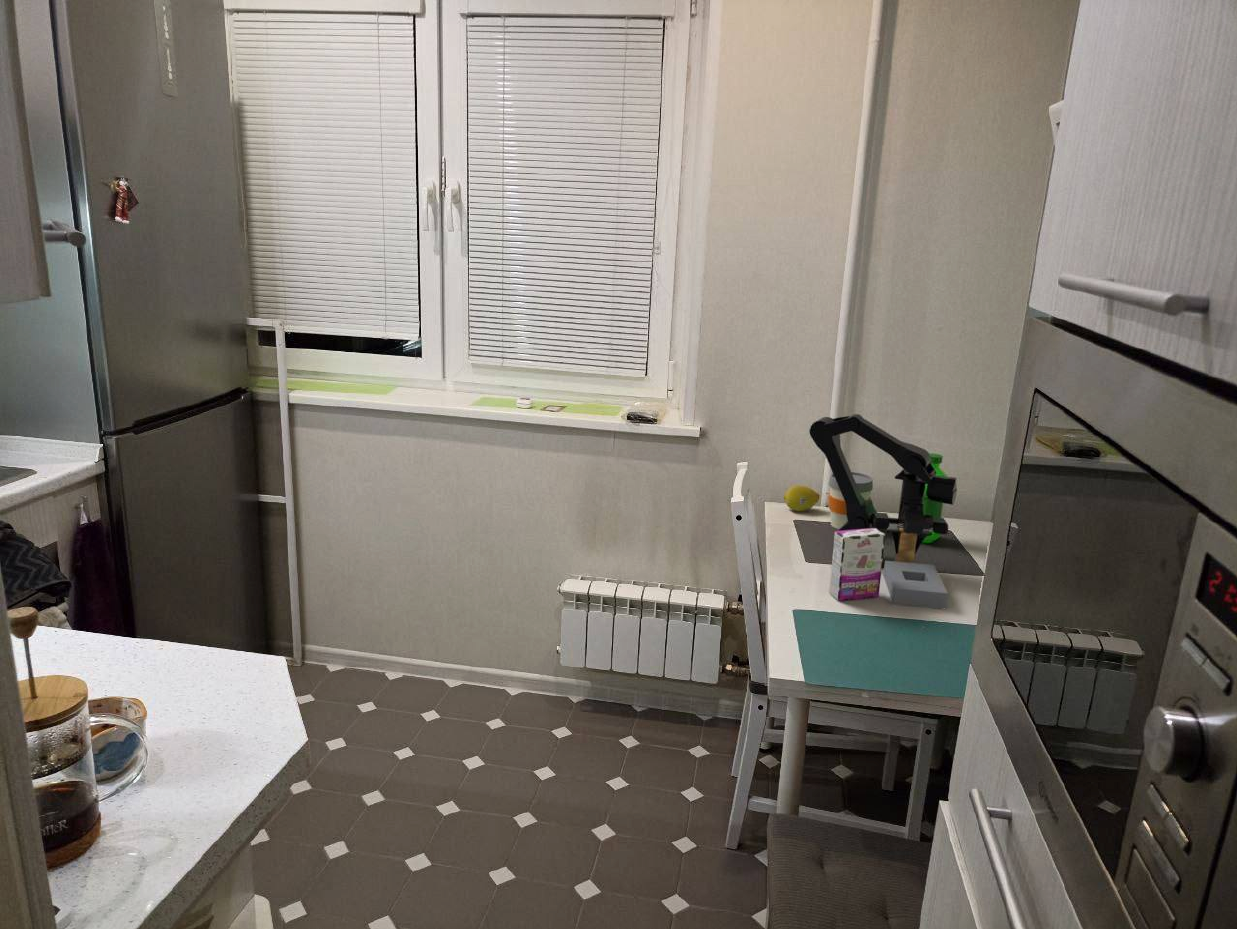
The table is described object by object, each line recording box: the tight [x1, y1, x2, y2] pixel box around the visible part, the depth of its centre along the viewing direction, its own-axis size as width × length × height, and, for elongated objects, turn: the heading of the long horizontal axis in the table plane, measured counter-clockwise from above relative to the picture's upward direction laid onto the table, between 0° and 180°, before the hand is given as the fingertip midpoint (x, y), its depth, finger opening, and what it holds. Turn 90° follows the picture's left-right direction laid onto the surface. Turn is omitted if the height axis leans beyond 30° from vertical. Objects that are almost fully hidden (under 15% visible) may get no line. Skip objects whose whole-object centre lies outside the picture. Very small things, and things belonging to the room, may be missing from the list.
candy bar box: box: [829, 527, 886, 602], centre depth 216 cm, size 11×5×16 cm, turn 105°
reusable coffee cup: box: [828, 471, 874, 530], centre depth 266 cm, size 13×13×15 cm
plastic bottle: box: [921, 453, 949, 544], centre depth 255 cm, size 10×10×25 cm
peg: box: [894, 527, 917, 563], centre depth 236 cm, size 4×4×10 cm
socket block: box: [882, 560, 949, 610], centre depth 222 cm, size 12×18×4 cm, turn 171°
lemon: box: [783, 484, 820, 512], centre depth 279 cm, size 11×8×8 cm
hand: (904, 554), depth 236 cm, fingers closed on peg, 4 cm apart
